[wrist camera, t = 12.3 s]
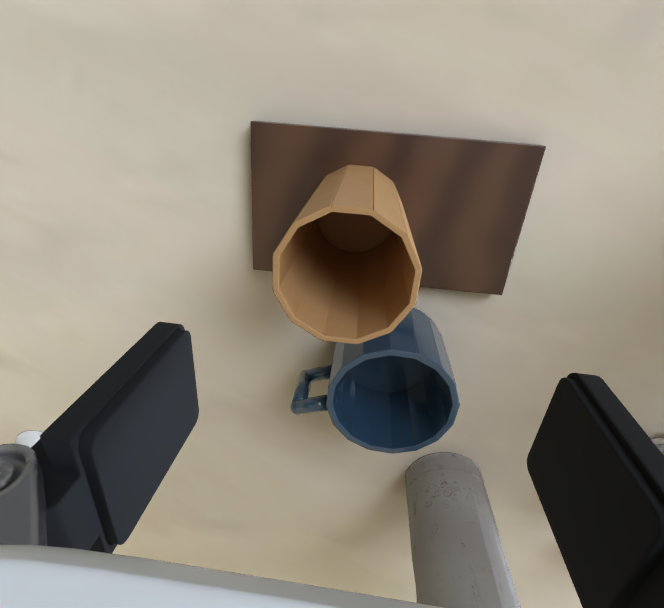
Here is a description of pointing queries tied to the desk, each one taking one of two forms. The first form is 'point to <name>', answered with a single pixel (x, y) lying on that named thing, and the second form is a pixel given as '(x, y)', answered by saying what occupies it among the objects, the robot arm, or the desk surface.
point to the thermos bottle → (455, 536)
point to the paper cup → (348, 259)
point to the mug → (387, 388)
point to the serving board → (405, 194)
